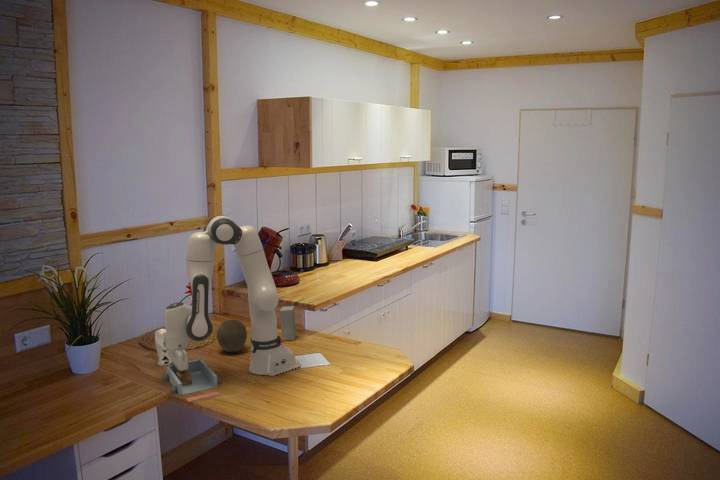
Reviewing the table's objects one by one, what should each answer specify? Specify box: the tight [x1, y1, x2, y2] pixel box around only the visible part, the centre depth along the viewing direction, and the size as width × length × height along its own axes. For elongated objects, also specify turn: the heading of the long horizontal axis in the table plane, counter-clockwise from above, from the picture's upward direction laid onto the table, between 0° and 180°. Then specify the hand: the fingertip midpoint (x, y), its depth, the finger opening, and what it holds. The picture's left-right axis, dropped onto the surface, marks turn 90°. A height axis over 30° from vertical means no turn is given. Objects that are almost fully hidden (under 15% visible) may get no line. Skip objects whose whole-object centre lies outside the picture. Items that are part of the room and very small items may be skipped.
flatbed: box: [161, 358, 222, 396], centre depth 233 cm, size 19×22×6 cm
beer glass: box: [154, 328, 173, 367], centre depth 256 cm, size 7×7×15 cm
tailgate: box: [185, 391, 221, 403], centre depth 220 cm, size 12×1×8 cm
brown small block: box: [176, 370, 192, 386], centre depth 231 cm, size 5×5×4 cm
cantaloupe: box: [216, 319, 248, 353], centre depth 270 cm, size 14×14×15 cm
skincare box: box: [279, 305, 297, 341], centre depth 288 cm, size 8×7×16 cm
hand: (178, 373), depth 238 cm, fingers closed
